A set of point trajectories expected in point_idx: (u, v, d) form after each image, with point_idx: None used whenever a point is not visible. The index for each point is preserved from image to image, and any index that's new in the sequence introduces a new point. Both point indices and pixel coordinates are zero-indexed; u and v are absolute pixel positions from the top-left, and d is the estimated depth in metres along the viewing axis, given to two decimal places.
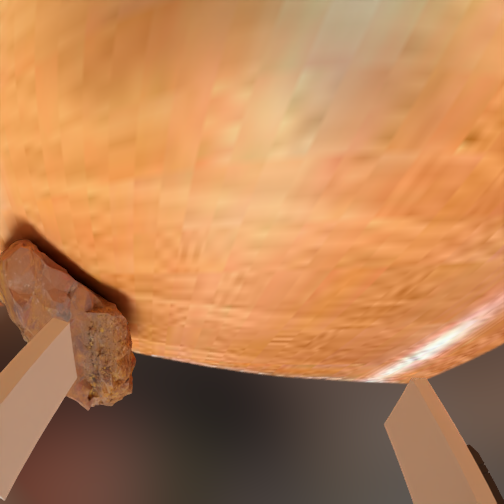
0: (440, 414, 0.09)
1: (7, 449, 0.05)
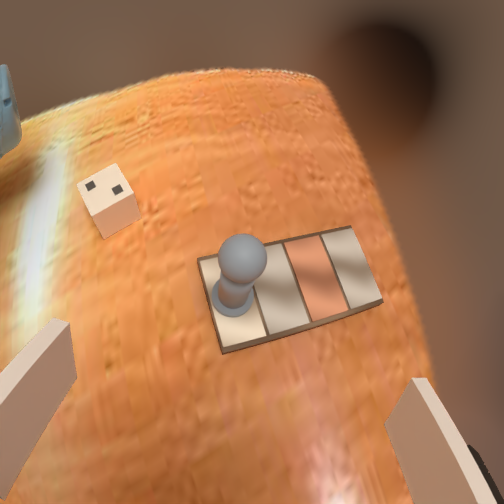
0: (440, 414, 0.09)
1: (7, 449, 0.05)
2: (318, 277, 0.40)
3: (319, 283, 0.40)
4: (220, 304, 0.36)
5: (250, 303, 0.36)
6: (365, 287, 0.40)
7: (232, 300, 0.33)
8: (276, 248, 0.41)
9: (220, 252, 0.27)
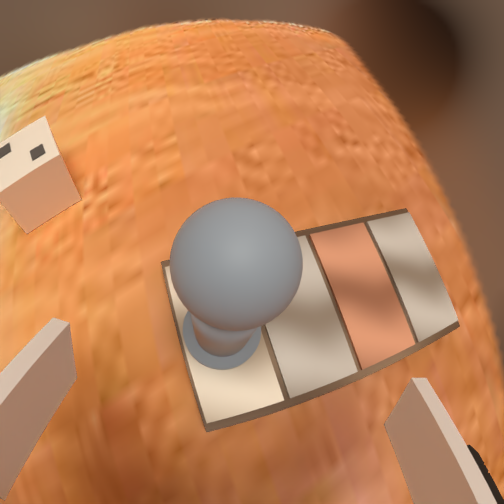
0: (440, 414, 0.09)
1: (7, 449, 0.05)
2: (368, 292, 0.23)
3: (370, 301, 0.23)
4: (198, 348, 0.18)
5: (255, 345, 0.19)
6: (436, 305, 0.23)
7: (219, 348, 0.15)
8: None
9: (173, 248, 0.09)
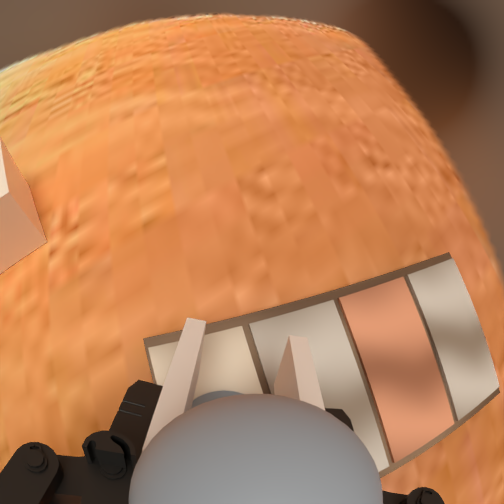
0: (305, 369, 0.10)
1: None
2: (408, 369, 0.17)
3: (409, 381, 0.16)
4: None
5: None
6: (479, 373, 0.17)
7: None
8: (324, 312, 0.18)
9: None
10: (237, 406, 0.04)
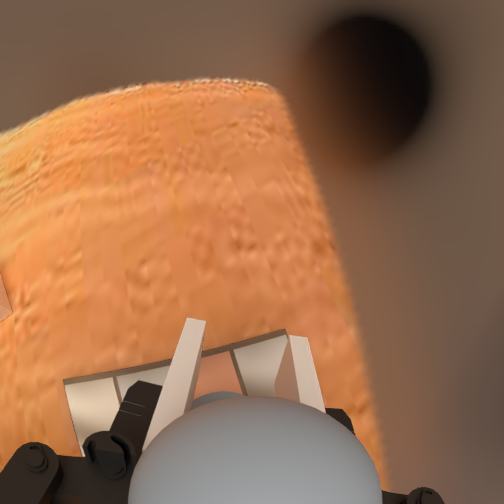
0: (305, 370, 0.10)
1: None
2: None
3: None
4: None
5: None
6: None
7: None
8: (162, 373, 0.26)
9: None
10: (236, 408, 0.04)
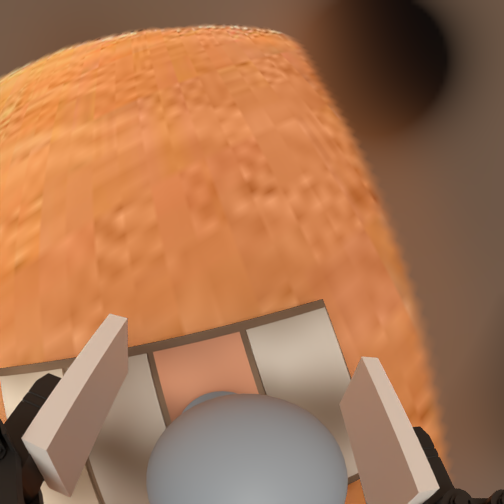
0: (386, 392, 0.10)
1: (76, 444, 0.07)
2: None
3: None
4: None
5: None
6: (342, 448, 0.16)
7: None
8: (134, 365, 0.16)
9: (149, 486, 0.05)
10: (232, 403, 0.06)
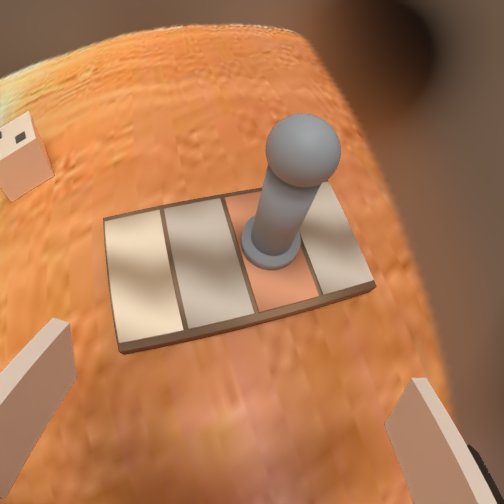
0: (440, 414, 0.09)
1: (7, 449, 0.05)
2: None
3: None
4: (254, 249, 0.25)
5: (296, 249, 0.26)
6: (347, 263, 0.27)
7: (277, 234, 0.22)
8: (212, 204, 0.28)
9: (271, 134, 0.16)
10: None
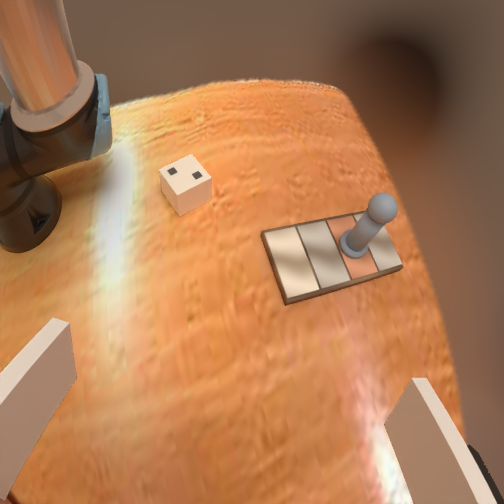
0: (440, 414, 0.09)
1: (7, 449, 0.05)
2: None
3: None
4: (348, 248, 0.49)
5: (367, 248, 0.50)
6: (389, 255, 0.51)
7: (363, 241, 0.46)
8: (321, 224, 0.52)
9: (373, 202, 0.40)
10: None
